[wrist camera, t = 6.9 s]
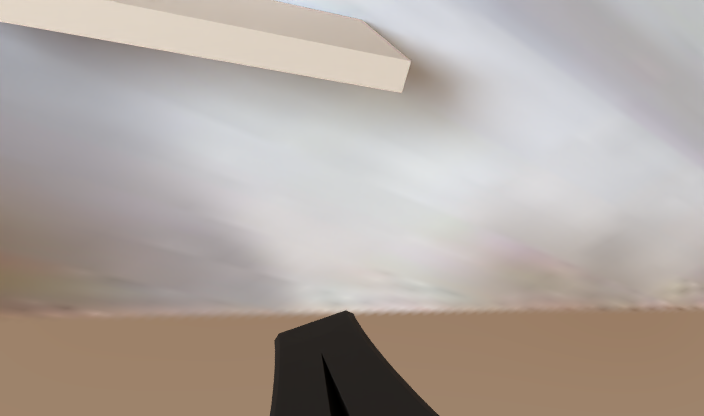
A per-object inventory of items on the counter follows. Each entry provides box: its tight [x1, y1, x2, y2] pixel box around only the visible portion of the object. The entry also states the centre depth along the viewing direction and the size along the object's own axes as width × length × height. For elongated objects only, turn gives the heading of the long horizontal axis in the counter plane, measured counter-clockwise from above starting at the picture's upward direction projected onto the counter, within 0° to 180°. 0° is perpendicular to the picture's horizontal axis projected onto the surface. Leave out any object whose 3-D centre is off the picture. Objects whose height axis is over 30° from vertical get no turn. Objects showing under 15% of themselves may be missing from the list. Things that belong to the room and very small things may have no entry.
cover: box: [0, 0, 411, 93], centre depth 12 cm, size 1×11×4 cm, turn 76°
